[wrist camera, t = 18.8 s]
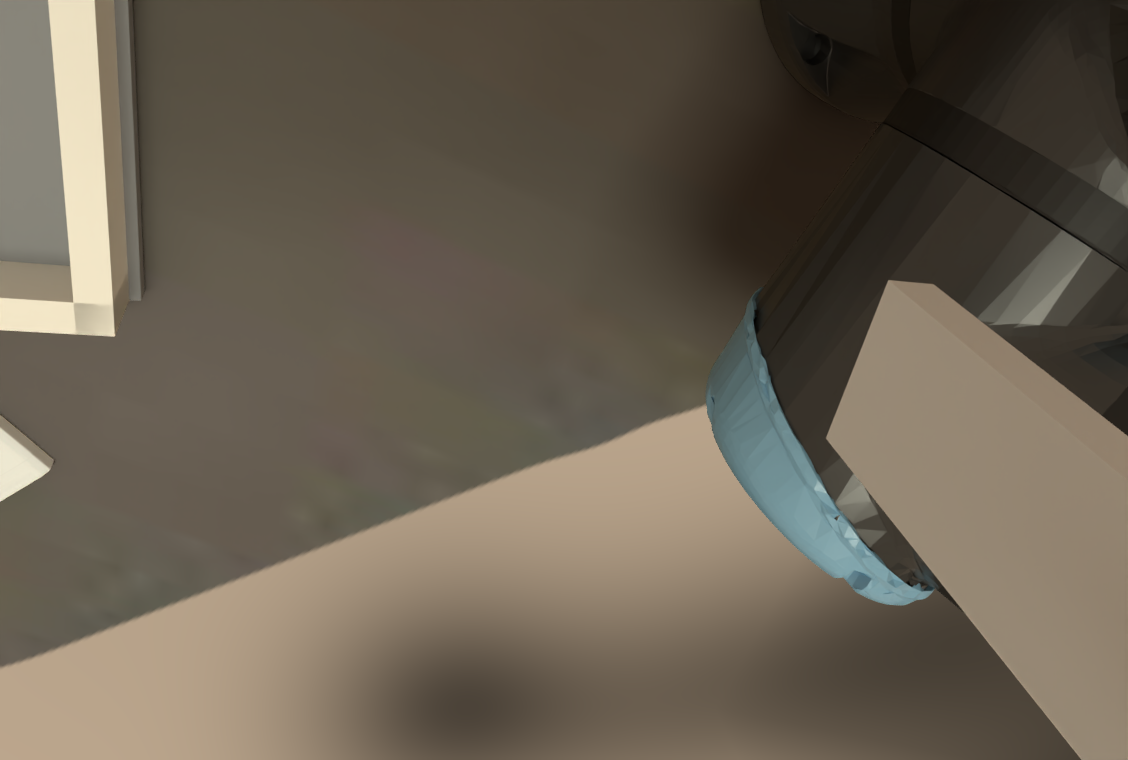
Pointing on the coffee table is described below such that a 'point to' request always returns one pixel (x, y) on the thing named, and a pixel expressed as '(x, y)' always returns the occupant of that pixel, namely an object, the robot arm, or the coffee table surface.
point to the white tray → (68, 166)
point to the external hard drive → (19, 460)
